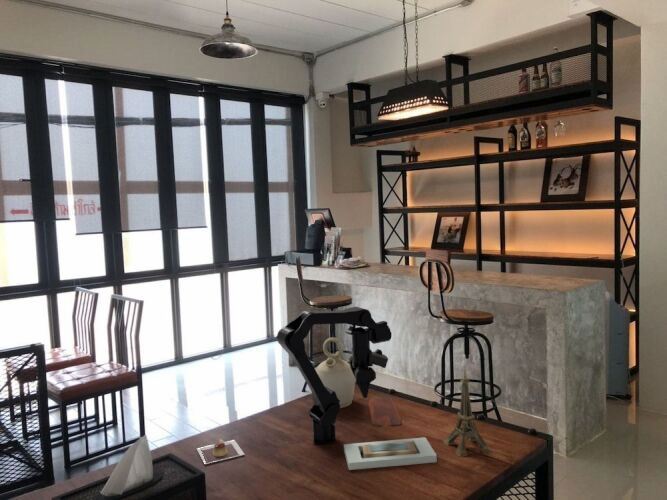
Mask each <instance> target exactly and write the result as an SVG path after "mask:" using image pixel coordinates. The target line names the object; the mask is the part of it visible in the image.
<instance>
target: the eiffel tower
mask: <svg viewBox="0 0 667 500" xmlns="http://www.w3.org/2000/svg"><path fill="white" fill-rule="evenodd" d="M463 372H464V374H463V375H464V376H463V377H461V378H460V380H459V381H460V382H461V383H462V384H461V395H460V406H459V407H460V408H459V411H458V412H457V416H458V419H457V423H456V424H455V425H454V429H453V430H452V431H451V433H450V434H449V435H448V436H447V437H446V439H444V440H443V441H442V443H443V444H444V445H445V446H452V445H456V442H455V441H456V440H457V438H460V441H459V444H458V446H457V448H456V450H455V451H454V454H455V455H456V456H457V457H459V458H460V457H461V458H462V457H466V456H468V453H467V446H466V443H467V442H466V440H468V441H469V442H477V444H478V449H479V450H480V451H481V452H482V453H489V452H490V453H491V452H493V450H492V449H491V448H489V446H488V444H487V443H486V441H485V440H484V438H483V437H482V436H481V435H480V433H479V429H477V427H476V424H475V420H474V419H475V415H474V414H473V412H472V411H473V410H472V405H471V404H472V403H471V398H470V391H469V383H470V382H471V381H470V379H469V377H466V366H465V364H464V371H463Z"/></svg>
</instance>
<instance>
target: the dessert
mask: <svg viewBox="0 0 667 500" xmlns="http://www.w3.org/2000/svg"><path fill="white" fill-rule="evenodd" d="M227 445H232V447H233V448H234V450H235V451H236V452H237V454H238V455H234V456H231V457H227V458H222V459H218V460H214V461H209V462H208V463H206V461H205V459H204V456H205V455H204V453H203V451H206V450H210V449H212V450H213V451H212V456H214V457H224V456H226V455H227V454H228V452H229V451H228V449H227V447H226V446H227ZM196 450H197V453H198V454H199V456H200V458H201V460H202V462H203V464H204V465H211V464H215V463H219V462H222V461H227V460H230V459H235V458H238V457H242V456H245V453H244V451H243V449H242V448H241V447H240V446H239V444H238V442H237V441H236V440H235V439H230V440H227V441H224V440H223V439H221V438H219V441H218V442H216V443H213V444H210V445H205V446H201V447H198V448H196ZM201 450H202V451H201ZM202 453H203V454H202ZM203 455H204V456H203ZM218 461H219V462H218ZM214 462H215V463H214ZM210 463H211V464H210Z"/></svg>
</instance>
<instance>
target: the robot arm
mask: <svg viewBox="0 0 667 500" xmlns="http://www.w3.org/2000/svg"><path fill="white" fill-rule="evenodd" d="M338 324H340V325H341V324H344V325H345V324H347V325H350V326H349V327H348V328H347V329H346V331H345V333H346V334H348V335H349V336H351V353H352V355H351V356H349V359H348V361H349V362H348V363H349V364H350V367H351V370H352V372H353V374H354V377H355V382H356V383H357V385H358V388H359V390H360V393H361V395H362V397H363V399H366V398H368V394H369V390H370V384H371V383H372V382H373V381H375V380H376V379H377V373H376V371H375V369H374V368H373V366H374V365H375V366H376V367H377V366H378V367H381V368H382V369H386V367H387V365H388V361H389V357H387V355H386V354H383V351H382V350H381V349H379V348H377V349H375V350H374V351H373V350H371V344H370V343H372V344H373V345H374V344H381V343H385V342H389V341H391V339H392V337H393V336H392V332H391V328H390V326H389V324H388V321H386V320H381V321H379V322H376V321H375V320H374V319H373V317H372V313H371V311H370V310H369V309H366V308H363V307H360V306H353V307H347V308H345V309H342V310H317V311H316V310H314V311H313V310H312V311H311V310H304V311H302V312H301V313H300V314H298V315H297V317H295V318H293V319H292V320H290V322H288V323H287V324H286V325H285V326H284V327H282V328H281V329H279V330H278V332H277V334H276V341H277V343H278V344H279V345H280V347H281V348H283V350H284V351H285V352H286V353H288V354H287V355H289V356H290V357H291V359H292V360H293V361H294V364H296V367H297V369H298V370H299V373H301V375H302V377H303V379H304V381H305V382H306V384H307V386H308V388H309V390H310V391H311V394H312V401H313V405H312V407H311V408H310V409H309V411H308V416H309V419H312V420H311V422H312V442H313V444H314V445H322V444H333V443H335V439H336V425H335V424H336V422H337V418H338V415H339V412H340V410H341V408H340V404H339V402H340V400H339V399H338V398H337V396H336V393H335V391H333V390H332V389H330V388H328V387H327V386H324V384H323V383H322V381H321V379H320V377H319V376H318V374H317V372H316V369H315V367H314V365H313V363H312V361H311V360H310V358H309V356H308V354H307V352H306V344H305V341H304V340H305V339H306V337H307V336H308V335H309V333H310V331H311V329H312V327H313V326H315V325H338ZM355 326H356V327H355Z"/></svg>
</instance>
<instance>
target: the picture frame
mask: <svg viewBox="0 0 667 500" xmlns="http://www.w3.org/2000/svg"><path fill="white" fill-rule="evenodd" d="M361 453H362V459H363V458H374V457H385V456H396V455H408V454H417V451H416V448H415V446H414V444H413V442H400V443H384V444H369V445H362V452H361Z"/></svg>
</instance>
